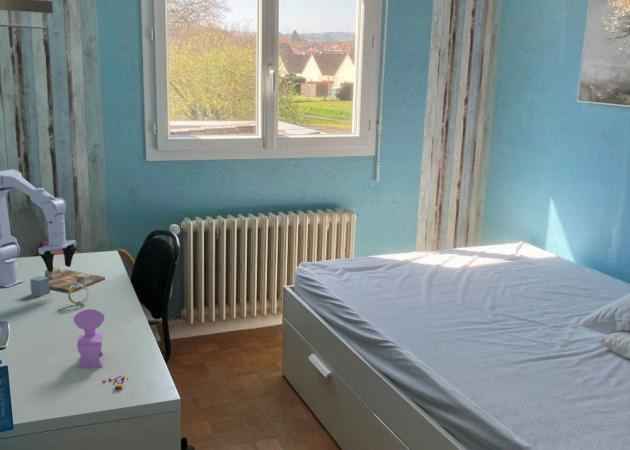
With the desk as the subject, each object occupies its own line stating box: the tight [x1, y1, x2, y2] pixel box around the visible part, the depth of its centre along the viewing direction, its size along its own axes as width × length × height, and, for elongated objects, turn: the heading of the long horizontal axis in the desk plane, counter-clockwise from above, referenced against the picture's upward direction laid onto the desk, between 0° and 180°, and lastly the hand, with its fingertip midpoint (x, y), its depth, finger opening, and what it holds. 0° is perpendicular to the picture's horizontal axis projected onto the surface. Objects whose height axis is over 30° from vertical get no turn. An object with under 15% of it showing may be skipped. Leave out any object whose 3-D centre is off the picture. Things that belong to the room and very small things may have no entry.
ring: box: [67, 282, 90, 306], centre depth 233 cm, size 7×3×8 cm, turn 110°
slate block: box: [30, 275, 51, 297], centre depth 243 cm, size 4×4×6 cm
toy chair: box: [73, 308, 105, 370], centre depth 188 cm, size 8×9×15 cm
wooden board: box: [44, 266, 106, 294], centre depth 257 cm, size 20×18×4 cm
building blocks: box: [102, 374, 129, 391], centre depth 178 cm, size 6×8×2 cm
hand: (59, 268), depth 241 cm, fingers open, 7 cm apart
